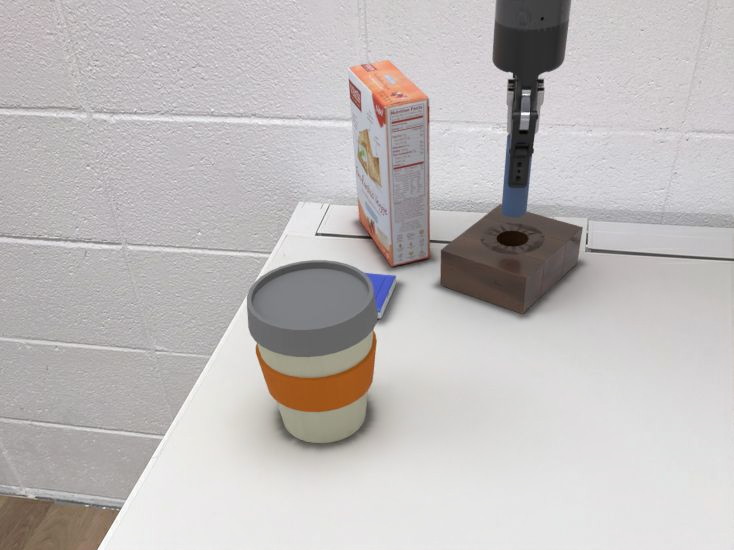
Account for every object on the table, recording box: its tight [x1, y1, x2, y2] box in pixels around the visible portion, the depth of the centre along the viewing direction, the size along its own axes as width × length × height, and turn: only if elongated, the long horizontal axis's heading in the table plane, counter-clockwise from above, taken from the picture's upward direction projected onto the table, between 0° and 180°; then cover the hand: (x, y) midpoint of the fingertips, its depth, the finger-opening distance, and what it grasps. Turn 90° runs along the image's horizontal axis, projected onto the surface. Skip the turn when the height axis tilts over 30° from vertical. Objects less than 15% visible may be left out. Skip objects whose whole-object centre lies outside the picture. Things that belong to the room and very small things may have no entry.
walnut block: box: [439, 203, 584, 315], centre depth 101 cm, size 14×12×5 cm
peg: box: [501, 133, 533, 217], centre depth 94 cm, size 3×3×9 cm
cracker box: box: [347, 59, 431, 268], centre depth 103 cm, size 14×6×21 cm, turn 18°
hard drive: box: [364, 272, 397, 320], centre depth 101 cm, size 2×8×12 cm
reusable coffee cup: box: [246, 259, 379, 444], centre depth 81 cm, size 13×13×15 cm
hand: (517, 178), depth 94 cm, fingers closed on peg, 3 cm apart
